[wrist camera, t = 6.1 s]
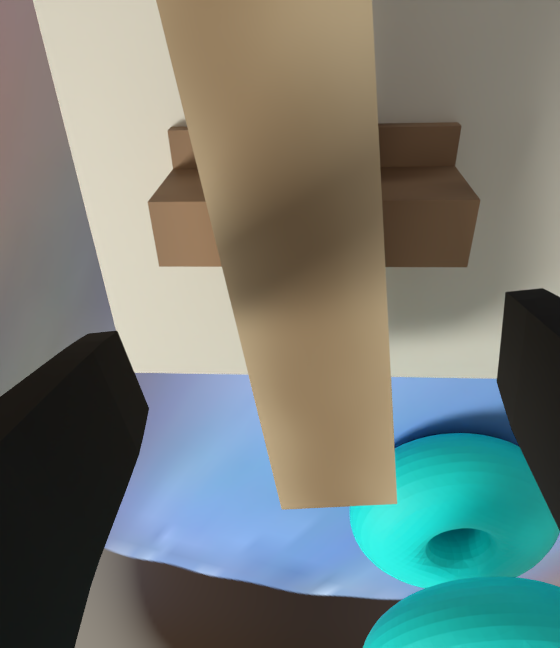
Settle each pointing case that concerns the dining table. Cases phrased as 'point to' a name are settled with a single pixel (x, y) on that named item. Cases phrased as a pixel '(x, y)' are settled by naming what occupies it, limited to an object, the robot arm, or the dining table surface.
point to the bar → (297, 227)
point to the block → (397, 201)
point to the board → (393, 107)
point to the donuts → (463, 547)
